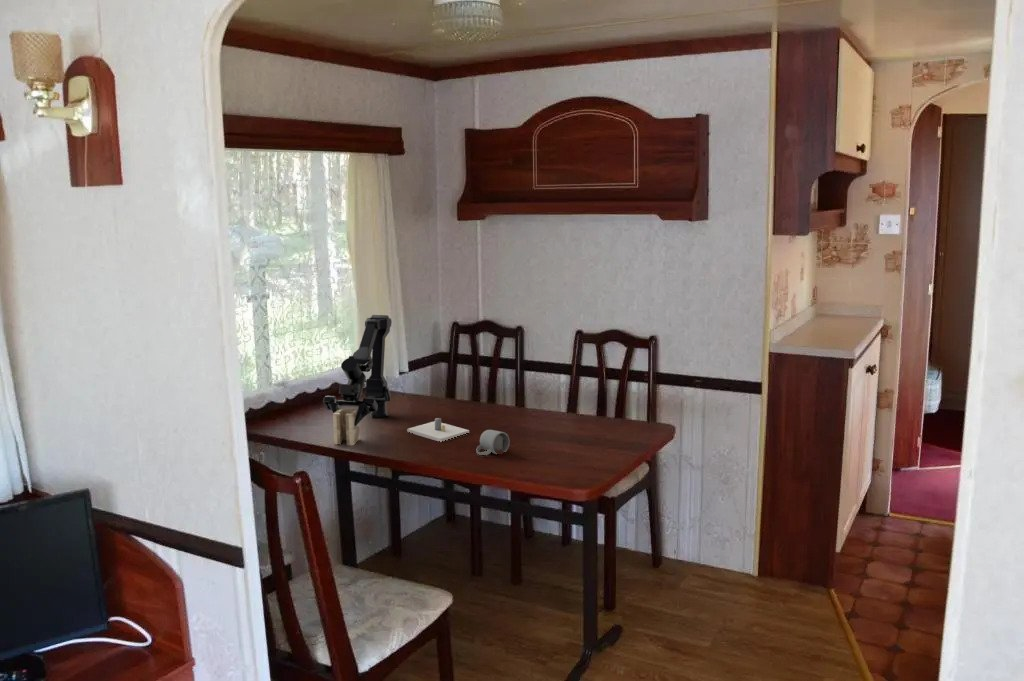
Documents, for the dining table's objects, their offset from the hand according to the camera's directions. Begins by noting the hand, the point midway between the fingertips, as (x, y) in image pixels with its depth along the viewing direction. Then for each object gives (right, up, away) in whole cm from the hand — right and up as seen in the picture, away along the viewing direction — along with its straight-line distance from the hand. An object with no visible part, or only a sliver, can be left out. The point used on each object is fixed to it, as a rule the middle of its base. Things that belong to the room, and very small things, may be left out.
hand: (345, 424), depth 296 cm
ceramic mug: (+51, -9, -9) cm, 53 cm away
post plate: (+31, -4, +14) cm, 34 cm away
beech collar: (0, -6, +3) cm, 7 cm away
